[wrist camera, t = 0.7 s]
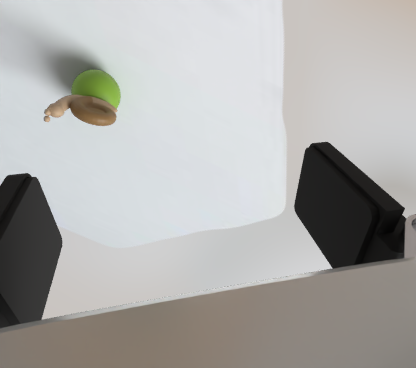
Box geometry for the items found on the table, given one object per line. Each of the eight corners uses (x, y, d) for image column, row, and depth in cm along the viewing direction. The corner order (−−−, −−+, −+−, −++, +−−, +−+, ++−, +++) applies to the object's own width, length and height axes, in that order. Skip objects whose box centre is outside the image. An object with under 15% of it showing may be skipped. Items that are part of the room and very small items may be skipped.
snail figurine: (69, 55, 35) (45, 86, 25) (125, 72, 37) (122, 106, 28) (64, 99, 37) (40, 142, 28) (116, 112, 40) (111, 156, 30)
